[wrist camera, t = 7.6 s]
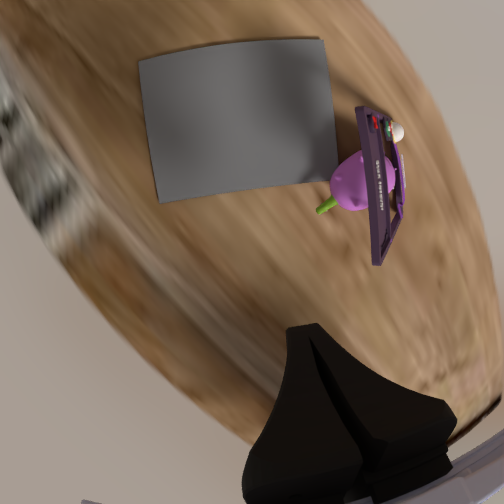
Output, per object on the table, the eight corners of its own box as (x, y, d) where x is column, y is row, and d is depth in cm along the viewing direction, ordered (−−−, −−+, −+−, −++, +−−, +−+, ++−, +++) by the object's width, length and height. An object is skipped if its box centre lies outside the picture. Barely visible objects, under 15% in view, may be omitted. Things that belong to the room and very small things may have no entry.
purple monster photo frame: (381, 103, 9) (402, 117, 16) (266, 122, 12) (332, 125, 19) (396, 268, 11) (413, 215, 18) (289, 262, 14) (344, 215, 21)
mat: (337, 178, 18) (339, 179, 17) (160, 202, 17) (159, 203, 17) (321, 41, 14) (323, 39, 14) (139, 62, 14) (138, 61, 14)
